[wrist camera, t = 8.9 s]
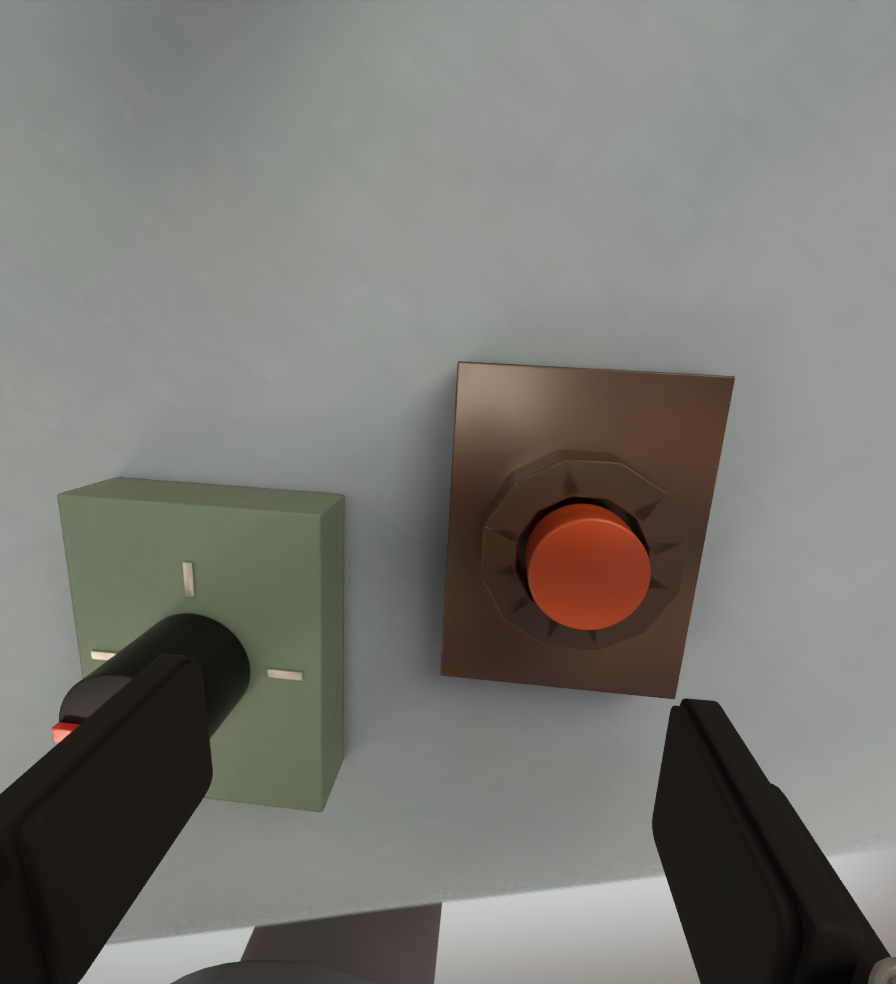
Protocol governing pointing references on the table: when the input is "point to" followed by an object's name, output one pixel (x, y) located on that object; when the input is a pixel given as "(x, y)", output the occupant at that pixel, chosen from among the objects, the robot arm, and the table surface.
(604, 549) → the button
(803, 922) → the robot arm
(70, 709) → the dial
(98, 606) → the dial panel
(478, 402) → the switch block
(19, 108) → the table surface
